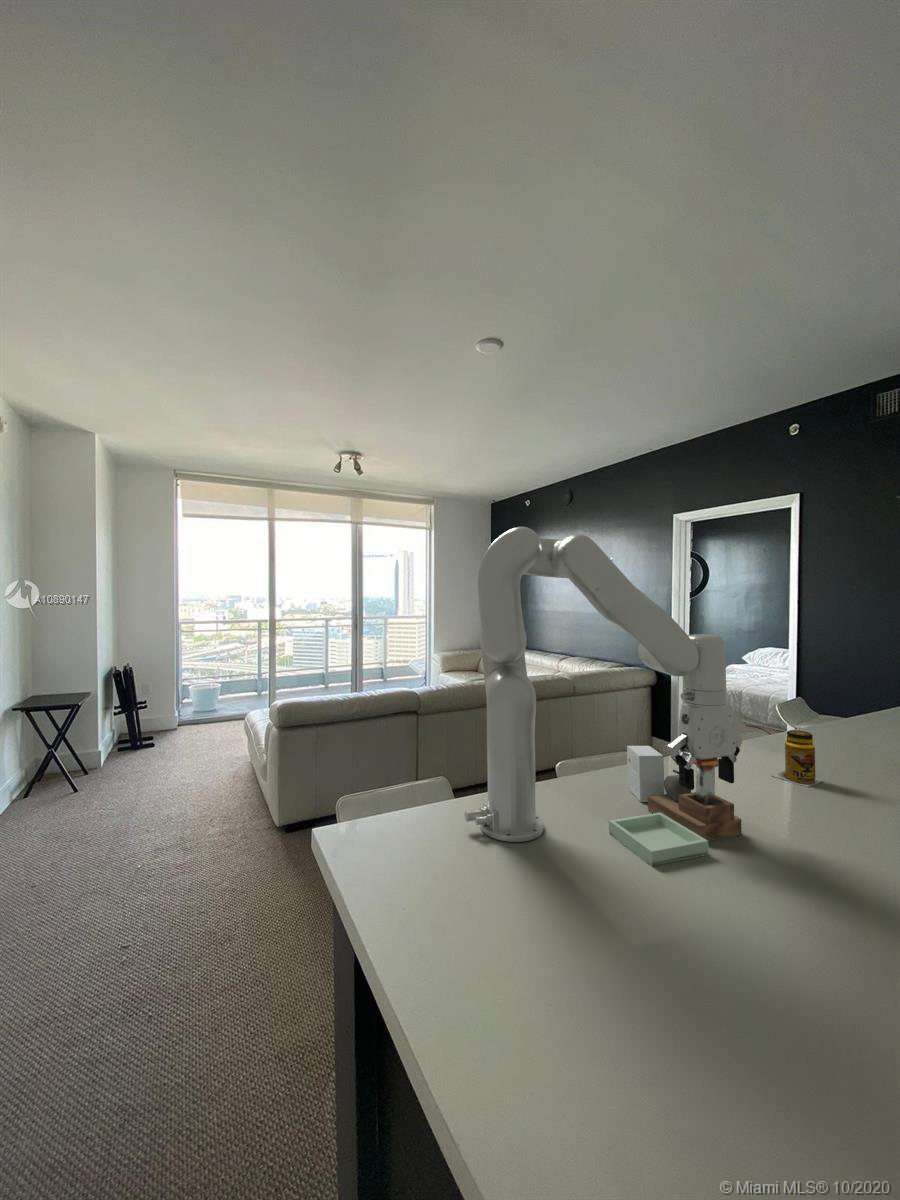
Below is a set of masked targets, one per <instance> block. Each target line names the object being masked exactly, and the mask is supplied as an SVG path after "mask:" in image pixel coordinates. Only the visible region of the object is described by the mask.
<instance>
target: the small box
mask: <svg viewBox="0 0 900 1200" xmlns="http://www.w3.org/2000/svg"><path fill="white" fill-rule="evenodd" d="M664 762H665V761H664V755H663V754H661V753H660V752H659V751H657V750H656V749H655V748H653V747H652V746H651V745H626V763H627V764H626V765H627V768H626V769H627V789H628V791H629V792H630V793H631V794H632V793H633V794H634V795H635V796H634V795H633V794H632V795H633V796H634V797H635V798H636V799H637V800H638V801H639V802H640V803H648V797H651V796H658V795H664V794H665V788H664V781H665V767H664V766H665V763H664Z"/></svg>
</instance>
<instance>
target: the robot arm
mask: <svg viewBox="0 0 900 1200" xmlns="http://www.w3.org/2000/svg"><path fill="white" fill-rule="evenodd" d="M523 575H526V576H535V577H545V578H554V579H555V578H556V579H557V578H560V579H568V580H569V581H570V582H571V583H572V584H573V585H574V586H575V587H576V589H577V590H578V591H580V593H582V595H583V596H584V597H585V598H586V600H587V601H588V602H589V603H590V604H591V606H592V607H593V608H594V609H595V610H596V611H597V612H598V613H599V614H600V615H601V616H603V617H604V618H605V619H607V620H608V621H610V622H611V623H613V624H615V625H616V626H619V627H620V628H621V629H623V630H624V631H626V632H627V633H629V634H630V636H632V637H633V638H634V639H635V640H636V641H637V642H638V643H639V644H638V648H637V652H638V653H637V654H638V657H639V659H640V661H641V662H642V663H643V664H644V665H645V666H646V667H648V668H650V669H652V670H654V671H657V672H660V673H663V674H666V675H669V676H671V677H682V688H683V689H682V690H683V692H682V693H681V694H680V699H681V700H682V701H683V703H681V706H680V712H679V719H678V720H679V721H678V736H677V738H675V739H674V740H673V741H672V742H670V743H669V744H668V745H667V750H668V752H669V754H670V757H671V760H673V761H674V762H675V765H676V766H678V772H679V774H678V775H679V784H680V785H681V786H683V787H685V788H688V789H690V790H691V791H693V790H694V789H695V770H694V768H692V766H693V765H694V764H693V763H694V761H695V760H696V758H697V759H700V760H704V759H712V758H717V759H718V766H717V769H718V771H717V773H718V779H720V780H722V781H724V782H727V783H729V784H734V783H735V763H736V762H737V756H738V755H739V753H740V752H741V749H740V748H741V746H742V743H743V738H742V737H741V736H740V735H737V734H736V731H735V730H736V729H735V722H734V717H733V712H732V709H731V704H730V703H727V701H728V700H727V698H728V697H727V696H728V695H727V669H726V668H727V663H726V662H727V661H726V660H727V659H726V658H727V657H726V641H725V640H724V638H723V636H720V635H717V634H709V633H708V634H707V633H701V634H700V633H699V634H696V633H694V634H687V633H686V632H685V631H684V629H683V628H682V627H681V626H680V625H679V624H678V623H677V622H676V620H674V619H675V618H673V617H672V616H671V615H670V614H668V612H666V611H665V610H664V609H663V608H662V607H661V606H659V605H658V604H657V603H656V602H655V601H653V600H652V599H651V598H650V597H648V596H647V595H646V594H645V593H644V592H642V591H641V590H640V589H639V588H637V587H636V586H635V585H634V583H633V582H632V581H631V580H630V579H629V578H628V577H627V576H626V575H625V574H624V573H623V571H622V570H620V568H618V566H616V564H615V563H614V562H613V561H612V560H611V558H609V556H608V555H607V554H606V553H605V551H603V549H601V547H600V546H599V545H598V544H597V543H596V542H595V541H594V540H593V539H592V538H590V536H588V535H586V534H580V533H576V534H572V535H569V536H567V537H565V538H564V539H556V538H555V539H554V538H544V537H543V538H542V537H539V535H538V533H537V532H536V531H535V530H533V529H532V528H529V527H526V526H517V527H513V528H510V529H508V530H507V531H505V532H503V533H502V534H500V535H499V536H498V537H497V538H496V539H494V541H493V542H492V543H491V544H490V545H489V546H488V547H487V549H486V551H485V553H484V554H483V557H482V558H481V561H480V565H479V567H478V572H477V596H478V610H479V617H480V618H479V619H480V632H479V644H480V652H481V661H482V670H483V671H482V672H483V677H484V685H485V694H486V695H485V696H486V750H487V751H486V752H487V754H486V755H487V759H486V760H487V801H483V805H482V806H483V807H479V809H476V810H474V809H473V810H467V811H466V810H465V811H464V820H465V822H467V823H468V822H474V824H475V825H476V826H480V829H481V831H482V832H483V833H484V834H485V835H486V836H488V837H490V838H492V839H495V840H497V841H500V842H501V841H503V842H507V843H508V842H509V843H522V842H523V843H524V842H529V841H531V840H534V839H537V838H538V837H540V836H541V835H542V834H543V833H544V828H545V824H544V820H542V818H541V817H540V816H539V815H538V814H536V812H537V811H536V749H535V748H536V744H535V743H536V741H535V733H536V732H535V731H536V730H535V729H536V715H537V713H536V710H537V696H536V690H535V687H534V685H533V682H532V681H531V679H530V678H529V677H528V672H527V664H526V654H525V649H526V648H527V641H528V640H527V634H526V629H525V624H524V615H523V608H522V598H521V594H522V593H521V581H522V580H521V579H522V577H523Z"/></svg>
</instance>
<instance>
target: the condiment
mask: <svg viewBox="0 0 900 1200" xmlns="http://www.w3.org/2000/svg"><path fill="white" fill-rule="evenodd" d="M813 739H814V738H813V734H812V733H811V732H808V731H805V730H804V731H803V730H797V729H792V730H787V731H786V741H785V742H784V753H785V754H784V757H785V758H784V763H785V764H784V766H785V767H784V769H785V770H783V771H781V772H778V773H775V774H771V775H770V776H771V777H774V778H777V779H780V780H784V781H787V782H790V783H794V784H795V785H799V786H803V787H805V788H806V787H812V786H815V785H817V784H820V783H822V782H823V780H821V779H817V778H816V746H815V745H814V744H813V743H814V740H813Z"/></svg>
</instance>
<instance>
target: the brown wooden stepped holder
mask: <svg viewBox="0 0 900 1200" xmlns="http://www.w3.org/2000/svg"><path fill="white" fill-rule="evenodd" d="M672 772H673V773H675V774H673V775H667V776H666V777H664V792H665V793H664V795H658V796H651V797H648V802H647V811H648V812H649V813H650V814H652V813H659V812H660V813H662V814H664V815H665V816H667V817H669V818H671V819H672V820H674V821H676V822H677V823H679V824H681V825H682V826H684V827H686V828H687V829H689V830H691V831H692V832H694V833H696V834H697V835H699V836H701V837H703V838H704V839H706V840H710V841H713V839H715V840H719V839H724V838H728V837H730V838H731V837H735V836H740V835H743V834H742V818H741V817H739V816H736V815H735V803H733V802H731V801H728V800H726V799H724V798H722V797H720V796H718V795H716V794H715V804H714V805H708V806H705V805H703V804H701V803H699V802H697V799H696V791H694V792H692V790H690V789H688V788H685V787H683V786H681V785H680V784H679V770H676V769H672Z"/></svg>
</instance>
